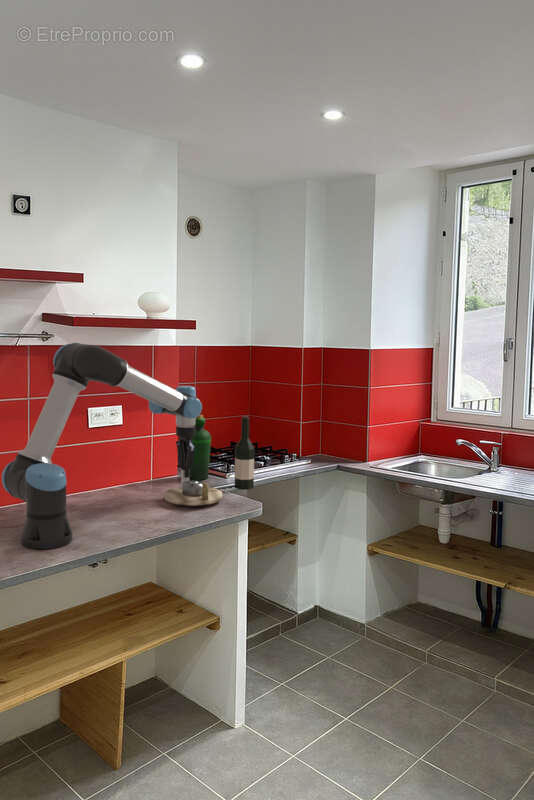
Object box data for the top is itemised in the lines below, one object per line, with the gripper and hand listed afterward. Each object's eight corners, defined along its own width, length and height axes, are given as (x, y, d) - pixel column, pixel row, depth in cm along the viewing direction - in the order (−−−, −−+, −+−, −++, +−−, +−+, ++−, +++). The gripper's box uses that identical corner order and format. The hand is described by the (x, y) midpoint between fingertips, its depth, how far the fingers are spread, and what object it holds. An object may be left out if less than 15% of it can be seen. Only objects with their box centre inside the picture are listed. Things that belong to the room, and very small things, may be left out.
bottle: (212, 476, 291) (213, 413, 288) (208, 481, 281) (209, 417, 277) (189, 474, 292) (189, 412, 289) (183, 480, 282) (184, 416, 278)
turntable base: (183, 509, 240) (183, 505, 240) (165, 498, 253) (165, 495, 253) (221, 503, 249) (221, 500, 249) (202, 493, 262) (202, 490, 262)
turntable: (179, 508, 236) (180, 488, 235) (155, 494, 254) (155, 475, 253) (232, 500, 248) (233, 481, 247) (205, 487, 266) (205, 469, 265)
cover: (188, 497, 244) (188, 485, 244) (178, 492, 252) (178, 480, 251) (209, 495, 249) (210, 483, 249) (199, 489, 257) (199, 478, 256)
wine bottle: (256, 485, 277) (258, 415, 273) (250, 490, 269) (252, 418, 265) (237, 483, 279) (239, 414, 275) (231, 488, 271) (232, 417, 267)
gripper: (202, 427, 251) (201, 487, 254) (187, 422, 261) (186, 480, 264) (184, 429, 247) (183, 490, 249) (169, 423, 257) (169, 482, 260)
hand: (185, 485), depth 257 cm, fingers closed
